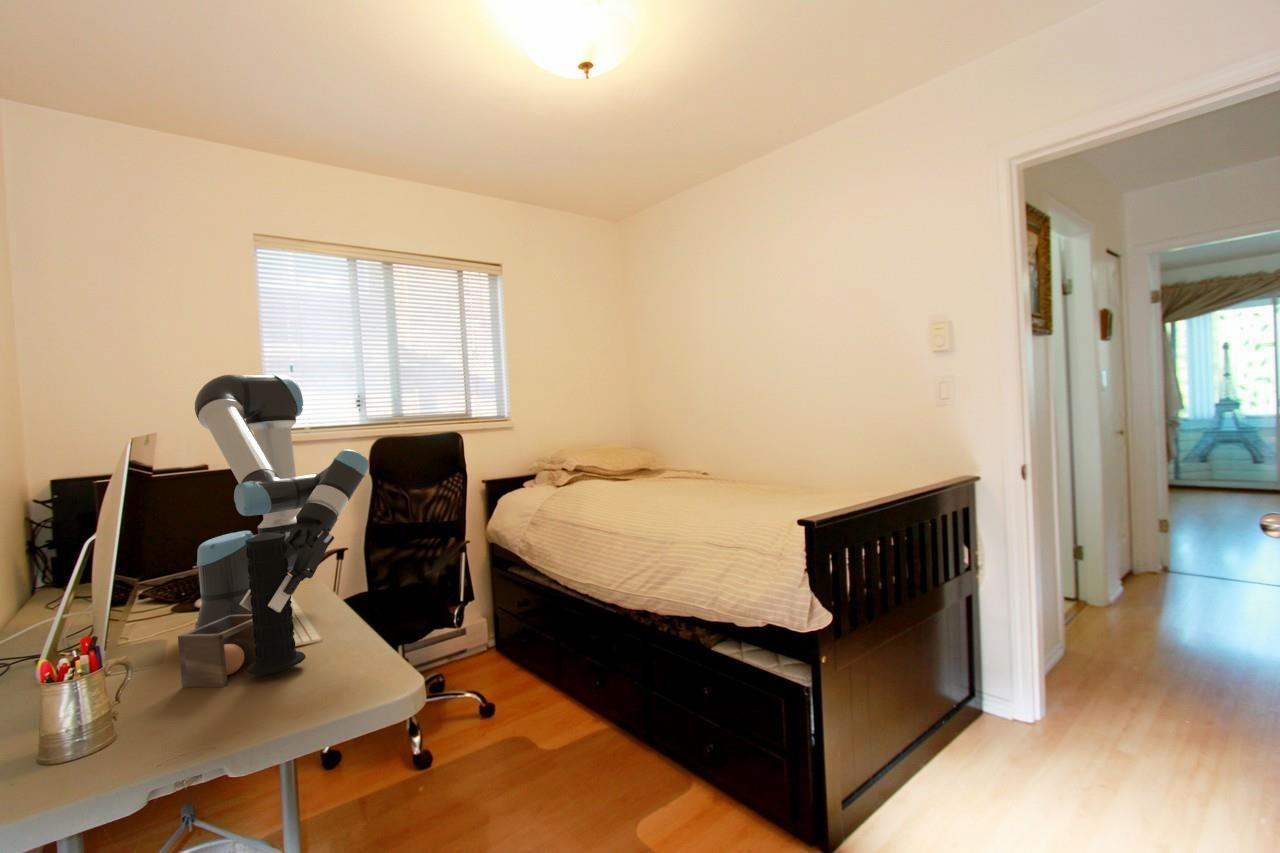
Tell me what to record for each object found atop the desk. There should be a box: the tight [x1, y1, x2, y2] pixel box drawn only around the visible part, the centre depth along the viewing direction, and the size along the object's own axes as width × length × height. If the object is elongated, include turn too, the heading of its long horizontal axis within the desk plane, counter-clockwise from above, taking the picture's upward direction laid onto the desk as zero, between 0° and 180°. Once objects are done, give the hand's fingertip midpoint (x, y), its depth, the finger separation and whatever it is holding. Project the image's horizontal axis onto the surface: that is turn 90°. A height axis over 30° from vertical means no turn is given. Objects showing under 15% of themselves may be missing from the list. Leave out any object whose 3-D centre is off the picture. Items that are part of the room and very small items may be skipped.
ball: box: [224, 644, 244, 676], centre depth 118 cm, size 6×6×6 cm
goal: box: [177, 614, 257, 688], centre depth 118 cm, size 12×9×10 cm
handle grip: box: [245, 532, 306, 676], centre depth 116 cm, size 10×26×10 cm
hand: (259, 608), depth 114 cm, fingers closed on handle grip, 7 cm apart
